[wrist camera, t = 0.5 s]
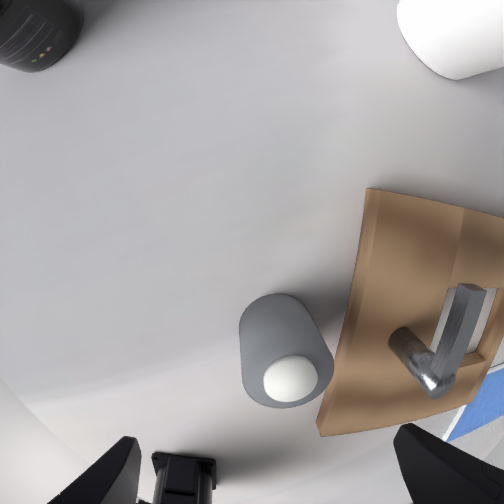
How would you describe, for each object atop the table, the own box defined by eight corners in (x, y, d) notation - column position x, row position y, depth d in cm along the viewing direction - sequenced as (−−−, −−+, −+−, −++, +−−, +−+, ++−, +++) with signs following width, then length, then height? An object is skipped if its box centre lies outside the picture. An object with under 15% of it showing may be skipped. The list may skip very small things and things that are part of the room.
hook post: (406, 349, 19) (447, 395, 13) (384, 351, 19) (424, 401, 13) (431, 260, 17) (489, 290, 12) (409, 258, 17) (468, 291, 11)
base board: (463, 393, 24) (471, 402, 23) (315, 421, 23) (321, 436, 21) (518, 223, 20) (532, 226, 18) (366, 188, 18) (380, 190, 16)
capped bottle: (304, 356, 21) (326, 412, 15) (236, 355, 20) (239, 415, 14) (315, 295, 20) (347, 342, 14) (241, 291, 19) (246, 341, 13)
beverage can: (474, 45, 15) (565, 16, 4) (455, 100, 17) (573, 81, 5) (407, -16, 14) (486, -77, 2) (378, 32, 15) (480, -44, 4)
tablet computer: (437, 440, 28) (441, 446, 26) (474, 369, 24) (480, 375, 23) (511, 404, 29) (515, 408, 28) (541, 342, 26) (546, 345, 25)
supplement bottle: (13, 39, 13) (-75, -1, 1) (76, -11, 12) (6, -83, 1) (25, 92, 14) (-90, 63, 3) (95, 36, 14) (1, -46, 2)
